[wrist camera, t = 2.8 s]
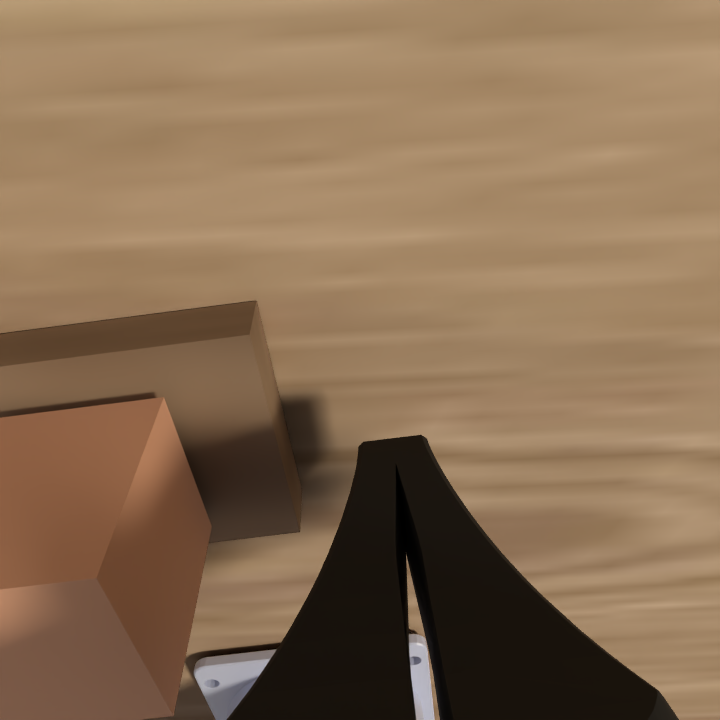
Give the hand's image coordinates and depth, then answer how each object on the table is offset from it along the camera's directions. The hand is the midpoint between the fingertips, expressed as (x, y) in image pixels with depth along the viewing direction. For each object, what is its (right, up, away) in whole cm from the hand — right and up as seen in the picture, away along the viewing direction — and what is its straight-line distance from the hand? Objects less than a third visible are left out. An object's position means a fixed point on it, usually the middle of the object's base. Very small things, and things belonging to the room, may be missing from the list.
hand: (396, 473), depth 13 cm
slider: (-7, 0, +1) cm, 7 cm away
